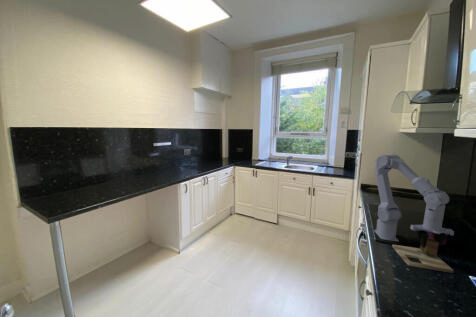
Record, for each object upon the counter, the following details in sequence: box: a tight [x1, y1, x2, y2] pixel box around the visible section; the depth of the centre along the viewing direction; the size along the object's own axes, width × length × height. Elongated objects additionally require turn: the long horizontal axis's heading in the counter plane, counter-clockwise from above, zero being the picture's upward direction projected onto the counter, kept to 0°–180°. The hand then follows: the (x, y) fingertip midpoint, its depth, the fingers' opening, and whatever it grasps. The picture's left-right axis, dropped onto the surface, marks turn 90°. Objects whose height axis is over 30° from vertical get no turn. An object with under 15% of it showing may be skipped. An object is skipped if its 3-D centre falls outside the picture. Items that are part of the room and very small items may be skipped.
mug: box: [427, 232, 448, 246], centre depth 101 cm, size 7×10×7 cm
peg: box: [419, 237, 439, 256], centre depth 87 cm, size 4×4×6 cm
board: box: [391, 244, 454, 274], centre depth 86 cm, size 14×15×2 cm
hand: (428, 247), depth 87 cm, fingers closed on peg, 4 cm apart
